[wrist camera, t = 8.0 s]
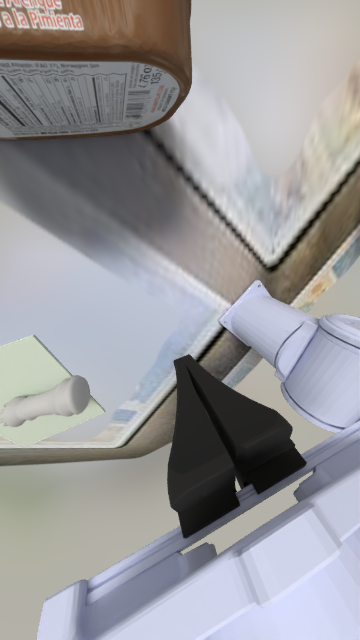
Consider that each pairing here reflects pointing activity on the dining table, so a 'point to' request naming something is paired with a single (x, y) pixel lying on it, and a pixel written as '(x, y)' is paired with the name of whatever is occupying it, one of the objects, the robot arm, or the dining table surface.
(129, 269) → the dining table surface
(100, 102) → the tin
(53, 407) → the rook chess piece
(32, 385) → the mat
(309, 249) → the dining table surface
